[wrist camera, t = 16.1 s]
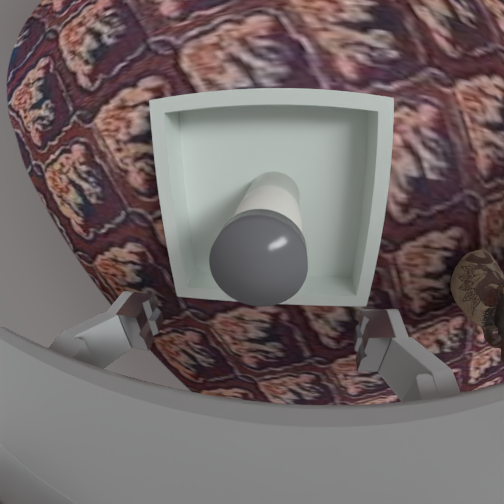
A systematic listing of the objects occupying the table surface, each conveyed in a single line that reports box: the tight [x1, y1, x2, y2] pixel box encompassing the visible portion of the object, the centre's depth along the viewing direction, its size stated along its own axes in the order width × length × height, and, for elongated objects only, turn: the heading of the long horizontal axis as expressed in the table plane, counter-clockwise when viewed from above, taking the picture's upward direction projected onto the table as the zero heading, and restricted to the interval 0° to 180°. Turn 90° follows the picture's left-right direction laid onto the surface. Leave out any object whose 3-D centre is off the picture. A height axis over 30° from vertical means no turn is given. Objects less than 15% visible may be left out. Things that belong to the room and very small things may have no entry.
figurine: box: [450, 249, 504, 362], centre depth 20 cm, size 7×7×12 cm
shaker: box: [209, 171, 308, 306], centre depth 19 cm, size 5×5×12 cm
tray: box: [149, 88, 394, 306], centre depth 23 cm, size 18×18×4 cm
